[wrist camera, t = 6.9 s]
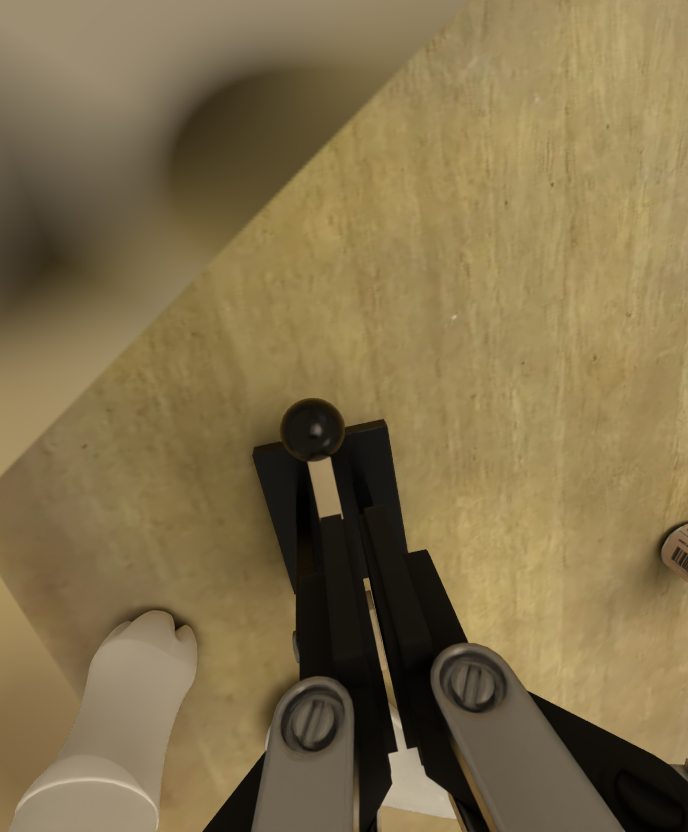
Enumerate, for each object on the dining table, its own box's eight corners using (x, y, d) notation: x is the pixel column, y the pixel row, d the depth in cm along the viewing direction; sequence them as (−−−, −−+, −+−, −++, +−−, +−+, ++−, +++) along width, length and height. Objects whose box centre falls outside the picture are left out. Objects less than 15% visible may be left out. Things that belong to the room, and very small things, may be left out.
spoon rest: (254, 742, 38) (245, 844, 32) (284, 648, 35) (282, 741, 28) (481, 759, 43) (516, 851, 36) (530, 678, 39) (578, 764, 33)
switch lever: (278, 407, 22) (269, 403, 19) (337, 395, 22) (337, 388, 19) (330, 651, 22) (329, 689, 18) (390, 637, 22) (400, 672, 18)
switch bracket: (253, 447, 28) (221, 586, 16) (383, 418, 28) (447, 534, 16) (294, 583, 32) (293, 772, 20) (406, 557, 33) (470, 728, 21)
